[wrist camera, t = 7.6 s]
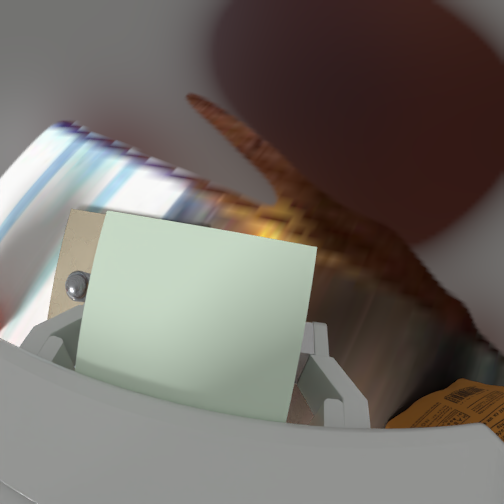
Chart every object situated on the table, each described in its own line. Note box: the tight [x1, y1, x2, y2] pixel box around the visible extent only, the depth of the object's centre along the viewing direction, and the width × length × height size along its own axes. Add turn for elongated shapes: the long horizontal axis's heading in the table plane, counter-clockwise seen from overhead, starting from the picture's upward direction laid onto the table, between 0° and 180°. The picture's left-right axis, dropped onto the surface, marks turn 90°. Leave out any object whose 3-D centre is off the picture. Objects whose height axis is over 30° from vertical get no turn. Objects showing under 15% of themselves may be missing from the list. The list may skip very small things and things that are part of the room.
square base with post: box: [48, 209, 106, 320], centre depth 24 cm, size 14×14×9 cm
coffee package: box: [385, 378, 504, 442], centre depth 15 cm, size 10×12×22 cm
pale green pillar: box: [75, 211, 317, 423], centre depth 12 cm, size 6×6×10 cm
